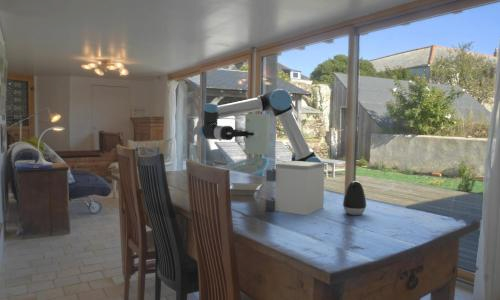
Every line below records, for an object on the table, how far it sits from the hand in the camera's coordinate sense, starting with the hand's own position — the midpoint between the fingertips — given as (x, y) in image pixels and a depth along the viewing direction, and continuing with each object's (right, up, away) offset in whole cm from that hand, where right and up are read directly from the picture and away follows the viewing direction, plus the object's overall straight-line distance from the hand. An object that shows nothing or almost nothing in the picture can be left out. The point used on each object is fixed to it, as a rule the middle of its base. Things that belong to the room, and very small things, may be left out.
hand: (261, 134), depth 194 cm
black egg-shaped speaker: (+42, -37, -16) cm, 58 cm away
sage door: (-2, -10, +2) cm, 10 cm away
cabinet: (+18, -36, -8) cm, 41 cm away
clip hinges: (+5, -36, -10) cm, 38 cm away
